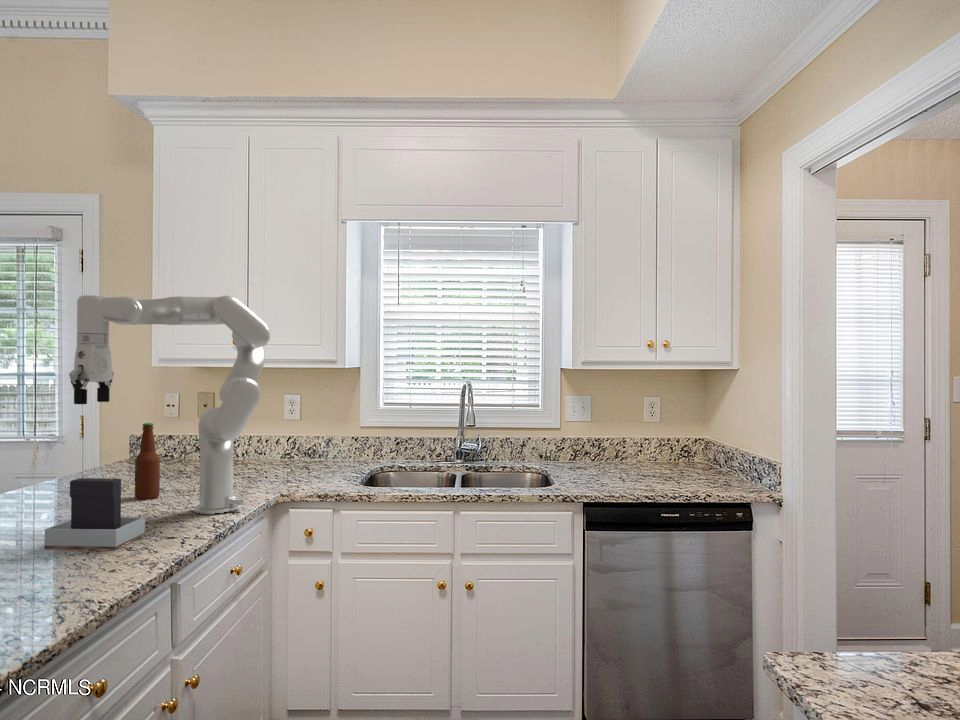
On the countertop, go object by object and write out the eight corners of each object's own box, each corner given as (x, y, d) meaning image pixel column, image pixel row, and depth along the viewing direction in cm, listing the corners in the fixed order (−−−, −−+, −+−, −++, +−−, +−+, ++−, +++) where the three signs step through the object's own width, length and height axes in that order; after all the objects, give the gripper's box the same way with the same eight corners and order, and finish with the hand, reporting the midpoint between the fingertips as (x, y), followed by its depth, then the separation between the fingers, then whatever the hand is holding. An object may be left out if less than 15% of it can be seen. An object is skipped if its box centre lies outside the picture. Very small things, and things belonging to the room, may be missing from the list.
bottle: (153, 494, 212) (154, 421, 213) (163, 497, 208) (164, 423, 208) (130, 498, 207) (131, 423, 207) (140, 501, 202) (141, 424, 202)
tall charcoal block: (122, 536, 159) (123, 478, 159) (112, 541, 154) (112, 481, 154) (80, 535, 159) (81, 477, 159) (68, 540, 154) (69, 480, 155)
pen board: (144, 535, 163) (144, 532, 163) (115, 550, 151) (116, 546, 151) (78, 534, 164) (78, 531, 164) (44, 548, 151) (44, 545, 151)
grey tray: (144, 532, 163) (145, 517, 163) (116, 546, 151) (116, 530, 151) (78, 531, 164) (79, 516, 164) (44, 545, 151) (44, 529, 151)
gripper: (85, 339, 162) (85, 405, 162) (125, 341, 179) (124, 401, 179) (57, 339, 162) (56, 405, 162) (99, 341, 179) (98, 400, 179)
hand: (92, 402), depth 170 cm, fingers open, 9 cm apart
